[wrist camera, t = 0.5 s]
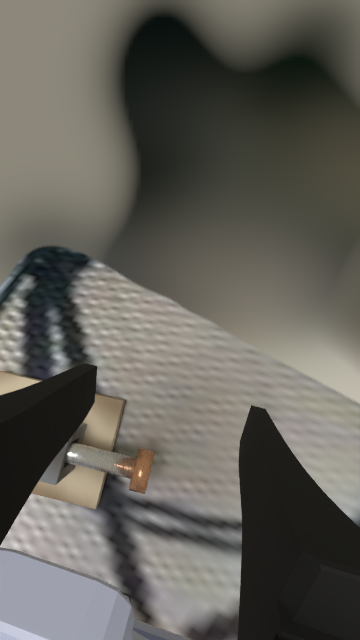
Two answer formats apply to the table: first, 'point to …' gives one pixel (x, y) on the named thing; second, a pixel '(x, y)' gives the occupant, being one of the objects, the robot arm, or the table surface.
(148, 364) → the table surface
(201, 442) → the table surface
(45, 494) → the bearing board
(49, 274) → the table surface
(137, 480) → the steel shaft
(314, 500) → the robot arm
